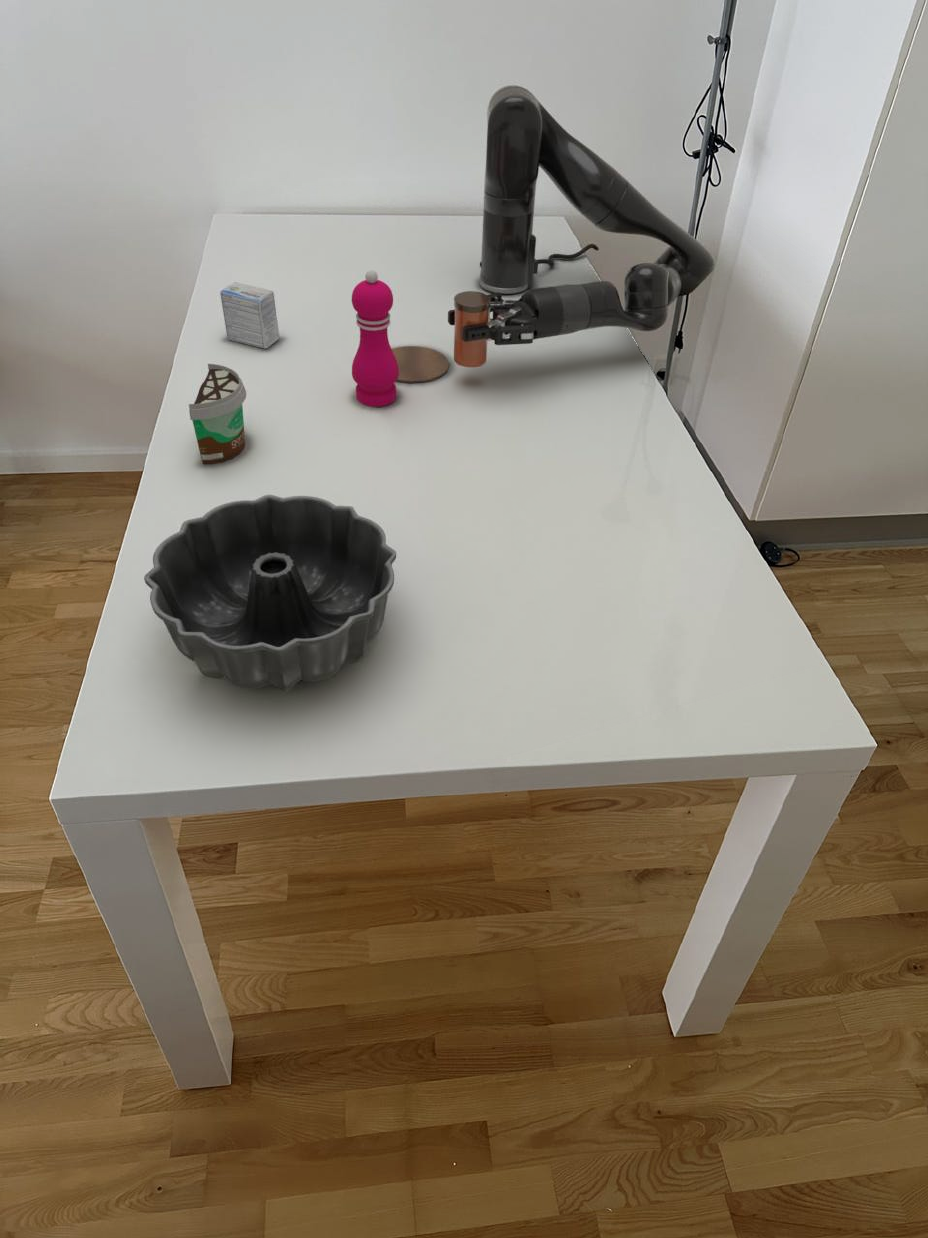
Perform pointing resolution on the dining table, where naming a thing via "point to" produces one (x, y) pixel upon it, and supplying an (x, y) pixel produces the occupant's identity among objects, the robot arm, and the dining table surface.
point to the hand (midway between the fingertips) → (455, 325)
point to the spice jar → (470, 312)
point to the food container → (219, 415)
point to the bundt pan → (273, 589)
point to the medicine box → (250, 315)
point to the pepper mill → (374, 343)
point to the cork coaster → (419, 364)
